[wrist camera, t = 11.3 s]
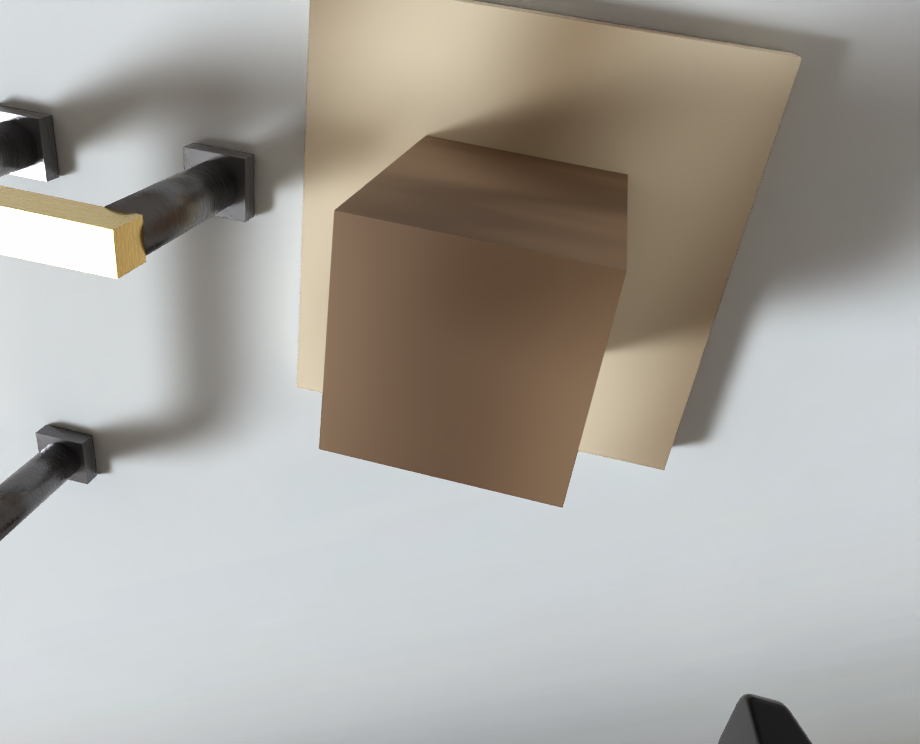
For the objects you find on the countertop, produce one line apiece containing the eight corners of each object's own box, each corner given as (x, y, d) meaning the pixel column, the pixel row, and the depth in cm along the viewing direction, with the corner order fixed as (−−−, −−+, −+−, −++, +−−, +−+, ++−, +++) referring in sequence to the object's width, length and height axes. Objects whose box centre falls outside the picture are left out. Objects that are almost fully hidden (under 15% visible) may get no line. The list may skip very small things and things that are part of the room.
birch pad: (792, 52, 16) (802, 57, 15) (662, 448, 20) (664, 469, 20) (327, -24, 17) (310, -24, 16) (310, 370, 21) (296, 387, 21)
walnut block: (627, 174, 16) (626, 271, 11) (581, 356, 18) (562, 507, 13) (426, 135, 17) (334, 210, 12) (404, 317, 19) (319, 448, 14)
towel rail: (253, 154, 19) (126, 217, 14) (253, 513, 24) (162, 645, 20) (-6, 104, 20) (-210, 148, 15) (52, 464, 25) (-82, 579, 20)
